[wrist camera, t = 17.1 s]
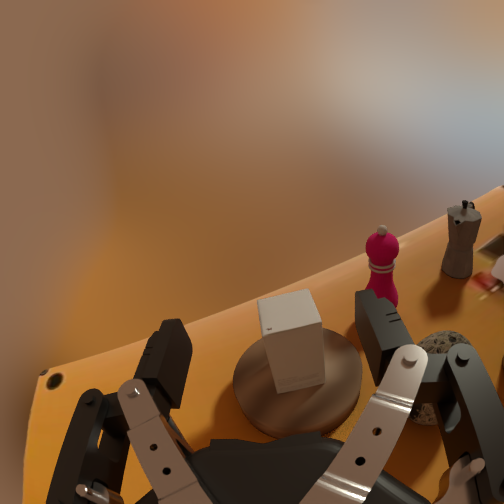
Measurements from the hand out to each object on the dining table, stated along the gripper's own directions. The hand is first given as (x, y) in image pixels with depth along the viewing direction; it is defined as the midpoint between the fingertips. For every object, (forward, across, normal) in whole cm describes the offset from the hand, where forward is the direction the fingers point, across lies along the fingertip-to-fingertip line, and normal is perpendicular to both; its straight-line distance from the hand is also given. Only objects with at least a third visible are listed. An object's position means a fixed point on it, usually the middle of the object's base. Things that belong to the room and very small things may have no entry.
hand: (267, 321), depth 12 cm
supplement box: (+18, 0, +27) cm, 33 cm away
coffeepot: (+41, -45, +32) cm, 69 cm away
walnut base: (+18, 0, +32) cm, 37 cm away
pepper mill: (+31, -18, +32) cm, 48 cm away
